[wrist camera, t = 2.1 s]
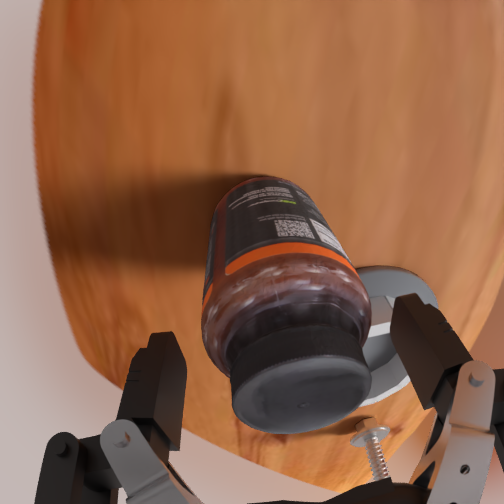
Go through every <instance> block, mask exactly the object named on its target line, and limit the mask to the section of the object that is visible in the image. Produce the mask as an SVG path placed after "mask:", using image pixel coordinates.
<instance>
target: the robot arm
mask: <svg viewBox="0 0 504 504" xmlns="http://www.w3.org/2000/svg"><path fill="white" fill-rule="evenodd" d="M452 329H453V328H452V327H451V326H450V324H449V323H447V320H446V318H445V317H444V316H443V314H442V313H441V311H440V310H438V309H437V308H435V307H434V306H432V305H431V304H430V303H428V304H424V303H423V301H422V300H421V298H420V297H419V296H418V294H417V293H411V294H407V295H402V296H398V297H396V298H395V301H394V307H393V313H392V318H391V323H390V337H391V341H392V343H393V345H394V347H395V349H396V351H397V353H398V355H399V357H400V359H401V361H402V363H403V366H404V368H405V370H406V372H407V374H408V376H409V378H410V380H411V382H412V384H413V387H414V389H415V391H416V393H417V395H418V398H419V400H420V402H421V404H422V406H423V409H424V410H426V409H429V408H432V407H435V409H436V411H437V413H436V414H435V417H434V420H433V424H432V427H431V430H430V434H429V437H428V440H427V443H426V446H425V449H424V451H423V454H422V457H421V460H420V462H419V464H418V465H417V467H416V469H415V471H414V473H413V475H412V477H411V479H410V481H409V484H408V483H392V480H391V477H388V478H384V479H381V480H378V481H374V482H371V483H368V484H364V485H360V486H357V487H355V488H353V489H351V490H349V491H347V492H344V493H342V494H340V495H338V496H336V497H334V498H332V499H329V500H327V501H324V502H299V501H286V500H281V501H272V502H262V503H249V504H479V503H480V499H481V496H482V492H483V489H484V485H485V482H486V478H487V474H488V470H489V466H490V461H491V457H492V452H493V446H494V447H495V449H496V452H497V455H498V457H499V460H500V463H501V465H502V469H503V472H504V369H495V370H492V369H491V368H490V366H488V365H487V364H486V363H484V362H482V361H477V360H473V358H472V357H471V355H470V354H469V352H468V351H467V349H466V348H465V346H464V345H463V343H462V342H461V340H460V339H459V337H458V336H457V334H456V333H455V331H453V330H452ZM186 380H187V366H186V361H185V358H184V356H183V354H182V351H181V349H180V347H179V344H178V342H177V340H176V337H175V335H174V333H173V332H172V331H170V332H160V333H152V334H151V335H150V338H149V342H148V346H147V348H140V349H139V350H138V352H137V353H136V354H135V356H134V357H133V358H132V361H131V364H130V368H129V373H128V375H127V379H126V383H125V387H124V390H123V394H122V398H121V403H120V406H119V410H118V414H117V418H116V420H115V421H113V422H111V423H110V424H108V425H107V426H106V427H105V428H104V429H103V431H102V433H101V434H100V435H97V436H92V437H87V438H83V439H77V438H76V437H75V436H74V435H72V434H71V433H68V432H60V433H58V434H56V435H54V436H53V437H52V438H51V439H50V440H49V442H48V444H47V446H46V450H45V454H44V458H43V463H42V467H41V472H40V477H39V481H38V486H37V492H36V497H35V503H34V504H117V502H118V490H119V488H121V487H123V488H124V490H125V492H126V494H127V496H128V498H127V499H126V503H127V504H203V502H201V500H200V499H199V498H198V497H197V496H196V495H195V494H194V492H193V491H192V490H191V489H190V488H189V486H188V485H187V484H186V483H185V482H184V480H183V479H182V478H181V476H180V475H179V474H178V472H177V471H176V470H175V469H174V467H173V466H172V465H171V463H170V462H169V461H168V459H169V451H179V450H180V439H181V428H182V418H183V408H184V398H185V389H186Z"/></svg>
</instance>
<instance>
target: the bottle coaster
mask: <svg viewBox="0 0 504 504" xmlns="http://www.w3.org/2000/svg"><path fill="white" fill-rule="evenodd" d="M356 272H357V274H358V276H359V278H360V279H361V281H362V283H363V284H364V286H365V289H366V291H367V293H368V296H369V299H370V302H371V308H372V323H371V328H370V331H369V335H368V338H367V340H366V342H365V344H364V346H363V348H362V349H363V355H364V357H365V360H366V362H367V364H368V367H369V370H370V373H371V376H372V384H371V389H370V392H369V395H368V396H367V398H366V399H365V400H364V402H363V403H362V404H361V405H360V406H359V407H361V406H365V405H369V404H373V403H375V401H376V402H378V401H380V400H382V399H384V398H386V397H388V396H389V395H391V394H393V393H395V392H397V391H398V390H400V389H402V387H405V386H406V385H407V384H408V383H409V382H410V381H411V380H410V378H409V376H408V374H407V372H406V370H405V368H404V366H403V363H402V361H401V359H400V357H399V355H398V353H397V351H396V349H395V347H394V345H393V343H392V341H391V337H390V323H391V318H392V313H393V307H394V301H395V298H396V297H398V296H402V295H407V294H411V293H417V294H418V296H419V297H420V298H421V300H422V301H423V303H424V304H428V303H430V304H431V305H432V306H434V307H435V308H437V309H438V303H437V300H436V297H435V295H434V293H433V291H432V290H431V289H430V287H429V286H428V285H427V284H426V282H425V281H424V280H423V279H422V278H420V277H419V276H418V275H417V274H415V273H413V272H411V271H409V270H406V269H403V268H399V267H392V266H373V267H364V268H360V269H356Z"/></svg>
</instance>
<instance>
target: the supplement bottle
mask: <svg viewBox="0 0 504 504" xmlns="http://www.w3.org/2000/svg"><path fill="white" fill-rule="evenodd" d="M202 305H203V307H202V318H201V329H202V339H203V343H204V346H205V349H206V351H207V354H208V356H209V358H210V359H211V360H212V362H213V363H214V365H215V366H216V367H217V368H218V369H219V370H220V371H221V372H222V373H224V374H225V375H226V376H227V377H228V378H230V383H231V391H232V408H233V410H234V413H235V415H236V416H237V417H238V418H239V419H240V420H241V421H242V422H243V423H244V424H246V425H248V426H250V427H251V428H254V429H257V430H260V431H264V432H268V433H273V434H293V433H302V432H308V431H313V430H317V429H320V428H323V427H326V426H328V425H330V424H333V423H335V422H337V421H339V420H341V419H343V418H345V417H346V416H348V415H349V414H350V413H352V412H353V411H355V410H356V409H357V408H358V407H359V406H360V405H361V404H362V403H363V402H364V400H365V399H366V398H367V396H368V395H369V392H370V389H371V384H372V376H371V373H370V370H369V367H368V364H367V362H366V360H365V357H364V355H363V349H362V348H363V346H364V344H365V342H366V340H367V338H368V335H369V331H370V328H371V323H372V308H371V302H370V299H369V296H368V293H367V291H366V289H365V286H364V284H363V283H362V281H361V279H360V278H359V276H358V274H357V272H356V270H355V268H354V267H353V265H352V263H351V262H350V260H349V258H348V257H347V255H346V253H345V252H344V250H343V248H342V247H341V245H340V243H339V242H338V240H337V238H336V237H335V235H334V234H333V232H332V230H331V229H330V227H329V226H328V224H327V222H326V221H325V219H324V217H323V216H322V214H321V213H320V211H319V209H318V208H317V206H316V205H315V203H314V202H313V201H312V199H311V198H310V196H309V195H308V194H307V193H306V192H305V191H304V190H303V189H301V188H300V187H299V186H298V185H296V184H294V183H293V182H291V181H288V180H284V179H281V178H277V177H257V178H252V179H249V180H246V181H244V182H241V183H240V184H238V185H236V186H235V187H233V188H232V189H231V190H230V191H228V192H227V193H226V194H225V195H224V196H223V198H222V199H221V200H220V202H219V203H218V205H217V206H216V209H215V211H214V214H213V218H212V222H211V227H210V237H209V245H208V254H207V263H206V272H205V282H204V290H203V303H202Z"/></svg>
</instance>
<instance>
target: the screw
mask: <svg viewBox="0 0 504 504" xmlns="http://www.w3.org/2000/svg"><path fill="white" fill-rule="evenodd" d="M355 427H356V430H357V433H356V434H355V435H353V436H352V437H351V439H350V444H351V445H353V446H355V447H364V446H366V448H365V449H366V450H367V454H368V455H369V456H368V458H369V459H370V460H369V463H371V465H370V467H372V469H371V471H373V474H372V475H373V476H374V480H375V481H378V480H381V479H384V478H388V477H390V475H388V472H389V471H387V468H388V467H386V463H387V462H385V461H384V459H385V458H383V455H384V454H382V449H381V448H380V447H381V446H382V445H380V444H379V443H380V441H381V440H382V439H384V438H385V437H386V436H387V435H388V433H389V431H390V428H389V426H388V425H379V424H378V423H377V420H376V419H375V418H374V417H371V418H367V419H363V420H361V421H360V422H359V423H357V424H356V425H355Z"/></svg>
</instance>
